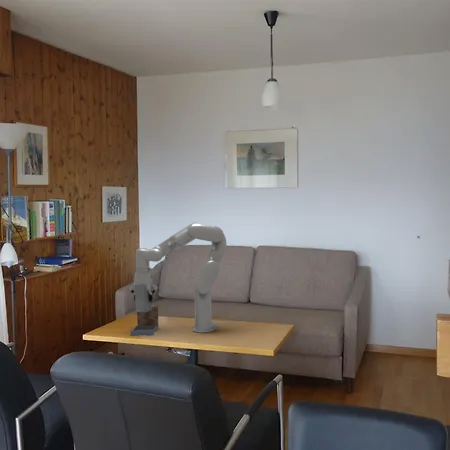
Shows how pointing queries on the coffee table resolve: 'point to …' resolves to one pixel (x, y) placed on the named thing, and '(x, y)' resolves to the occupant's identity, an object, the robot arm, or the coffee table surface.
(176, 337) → the coffee table surface
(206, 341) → the coffee table surface
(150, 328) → the blue-grey shallow tray
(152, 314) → the dark block on base
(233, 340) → the coffee table surface
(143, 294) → the skincare box
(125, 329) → the coffee table surface
